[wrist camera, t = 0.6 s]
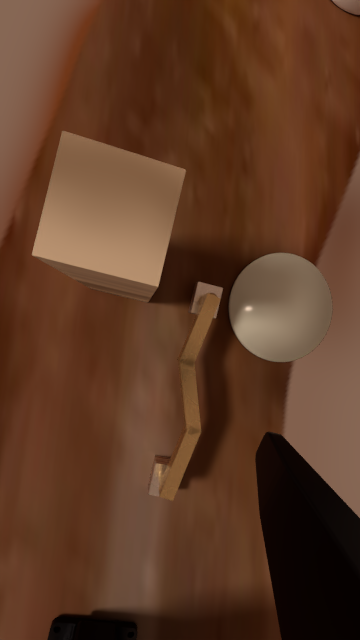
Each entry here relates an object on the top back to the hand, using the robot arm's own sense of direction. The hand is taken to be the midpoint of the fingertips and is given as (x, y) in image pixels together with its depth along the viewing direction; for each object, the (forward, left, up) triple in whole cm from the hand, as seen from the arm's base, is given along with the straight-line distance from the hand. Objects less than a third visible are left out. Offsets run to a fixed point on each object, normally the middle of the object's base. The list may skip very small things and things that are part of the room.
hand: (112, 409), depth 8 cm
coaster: (+6, -11, -14) cm, 19 cm away
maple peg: (+6, +2, -14) cm, 15 cm away
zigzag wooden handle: (-2, -5, -14) cm, 15 cm away
